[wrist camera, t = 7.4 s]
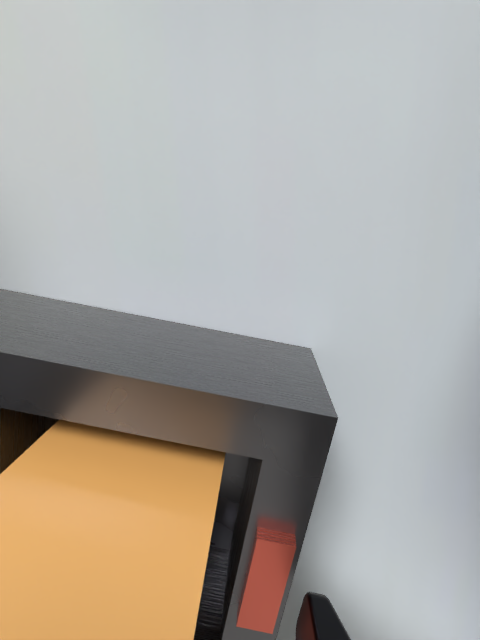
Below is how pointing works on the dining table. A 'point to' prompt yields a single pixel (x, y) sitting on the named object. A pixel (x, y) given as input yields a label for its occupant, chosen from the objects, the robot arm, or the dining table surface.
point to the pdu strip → (184, 430)
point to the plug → (105, 536)
